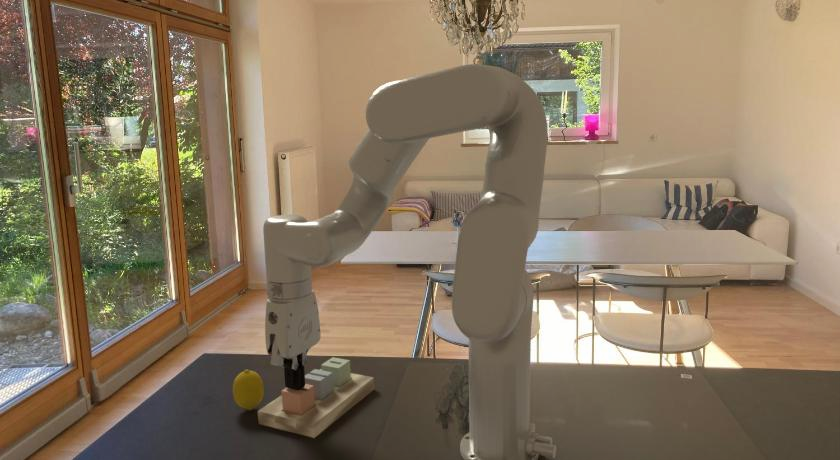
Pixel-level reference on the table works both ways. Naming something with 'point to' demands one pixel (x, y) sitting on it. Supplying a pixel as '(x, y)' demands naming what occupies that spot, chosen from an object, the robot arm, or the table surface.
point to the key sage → (338, 370)
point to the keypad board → (317, 408)
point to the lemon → (248, 389)
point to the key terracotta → (298, 400)
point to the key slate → (320, 383)
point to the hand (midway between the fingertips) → (295, 386)
